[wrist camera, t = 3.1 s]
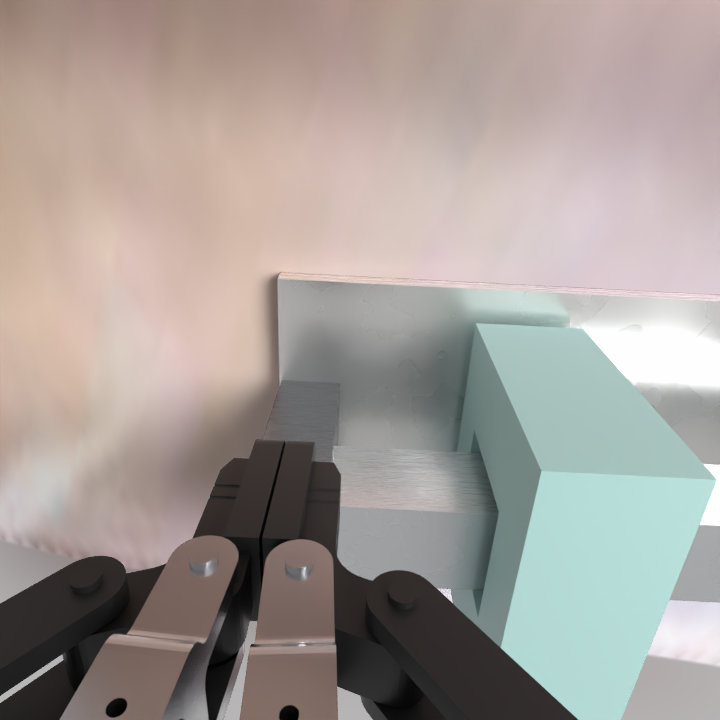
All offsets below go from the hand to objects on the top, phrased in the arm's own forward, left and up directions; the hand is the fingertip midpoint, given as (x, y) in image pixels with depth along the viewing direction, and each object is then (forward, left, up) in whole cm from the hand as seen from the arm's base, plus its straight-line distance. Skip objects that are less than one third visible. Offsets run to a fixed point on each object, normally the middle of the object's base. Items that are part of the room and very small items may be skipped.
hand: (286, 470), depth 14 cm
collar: (+4, +8, -8) cm, 12 cm away
